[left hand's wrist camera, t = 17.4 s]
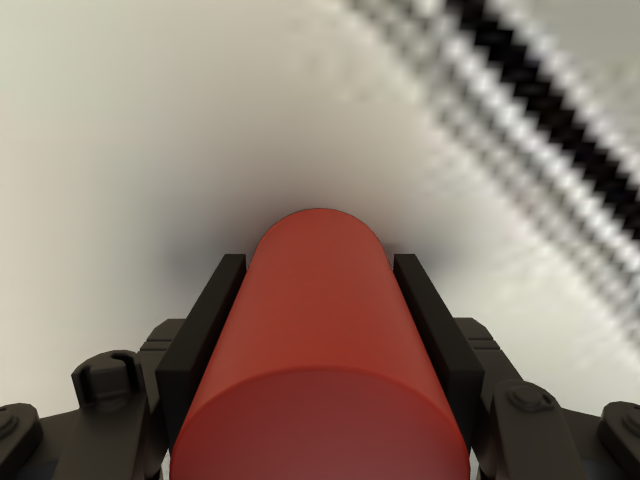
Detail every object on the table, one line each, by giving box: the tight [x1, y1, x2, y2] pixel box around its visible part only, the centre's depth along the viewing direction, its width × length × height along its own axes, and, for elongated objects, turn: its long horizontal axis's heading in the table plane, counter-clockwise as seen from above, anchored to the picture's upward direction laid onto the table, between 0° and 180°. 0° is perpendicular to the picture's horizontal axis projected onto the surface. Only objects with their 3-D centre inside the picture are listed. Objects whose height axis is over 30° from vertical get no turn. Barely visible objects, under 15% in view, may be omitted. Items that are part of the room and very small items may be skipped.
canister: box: [169, 209, 471, 480], centre depth 11 cm, size 6×6×9 cm
